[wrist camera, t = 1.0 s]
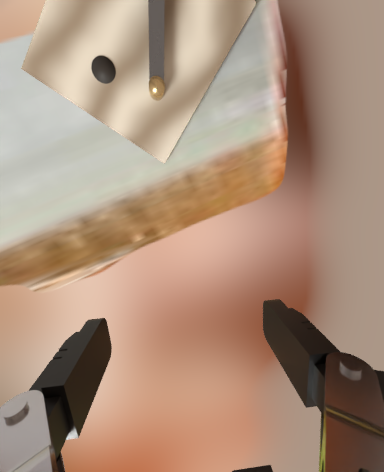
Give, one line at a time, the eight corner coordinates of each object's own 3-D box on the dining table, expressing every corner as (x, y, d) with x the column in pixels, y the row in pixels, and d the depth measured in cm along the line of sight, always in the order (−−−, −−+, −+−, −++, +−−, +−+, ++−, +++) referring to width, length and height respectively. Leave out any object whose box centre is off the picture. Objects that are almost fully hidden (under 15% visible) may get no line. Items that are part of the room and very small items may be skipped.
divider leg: (139, -76, 20) (137, -106, 18) (171, -68, 20) (174, -95, 18) (143, 99, 25) (142, 93, 23) (169, 101, 25) (171, 96, 23)
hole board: (29, 73, 24) (20, 68, 22) (111, -148, 19) (107, -173, 18) (164, 163, 30) (164, 163, 28) (250, 11, 25) (257, 2, 24)
